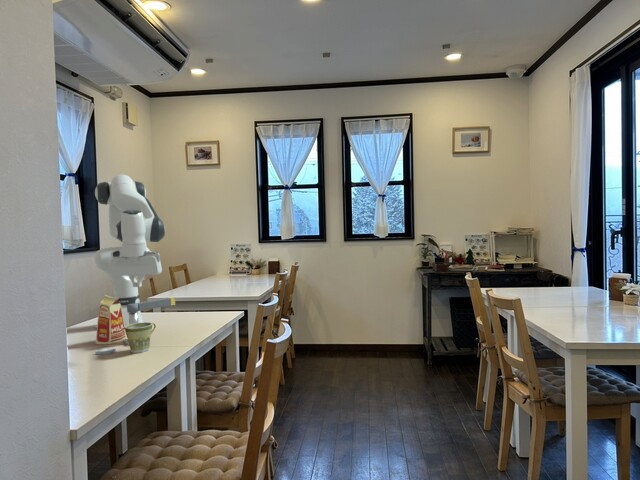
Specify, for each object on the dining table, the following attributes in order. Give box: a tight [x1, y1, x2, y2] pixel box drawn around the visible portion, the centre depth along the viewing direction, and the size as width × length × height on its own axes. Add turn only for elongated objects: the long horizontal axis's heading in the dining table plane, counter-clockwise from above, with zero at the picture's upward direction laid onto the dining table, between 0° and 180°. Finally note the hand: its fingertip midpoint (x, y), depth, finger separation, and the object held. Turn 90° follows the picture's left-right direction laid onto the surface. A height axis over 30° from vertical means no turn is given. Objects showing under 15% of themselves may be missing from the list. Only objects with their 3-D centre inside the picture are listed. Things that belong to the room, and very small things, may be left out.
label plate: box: [95, 348, 117, 355], centre depth 177 cm, size 6×4×1 cm, turn 80°
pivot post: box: [122, 312, 139, 347], centre depth 190 cm, size 8×8×12 cm
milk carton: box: [95, 294, 127, 345], centre depth 194 cm, size 9×9×20 cm
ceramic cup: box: [125, 321, 156, 354], centre depth 178 cm, size 13×10×10 cm
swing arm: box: [127, 296, 176, 313], centre depth 196 cm, size 20×4×3 cm, turn 135°
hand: (137, 286), depth 178 cm, fingers closed
